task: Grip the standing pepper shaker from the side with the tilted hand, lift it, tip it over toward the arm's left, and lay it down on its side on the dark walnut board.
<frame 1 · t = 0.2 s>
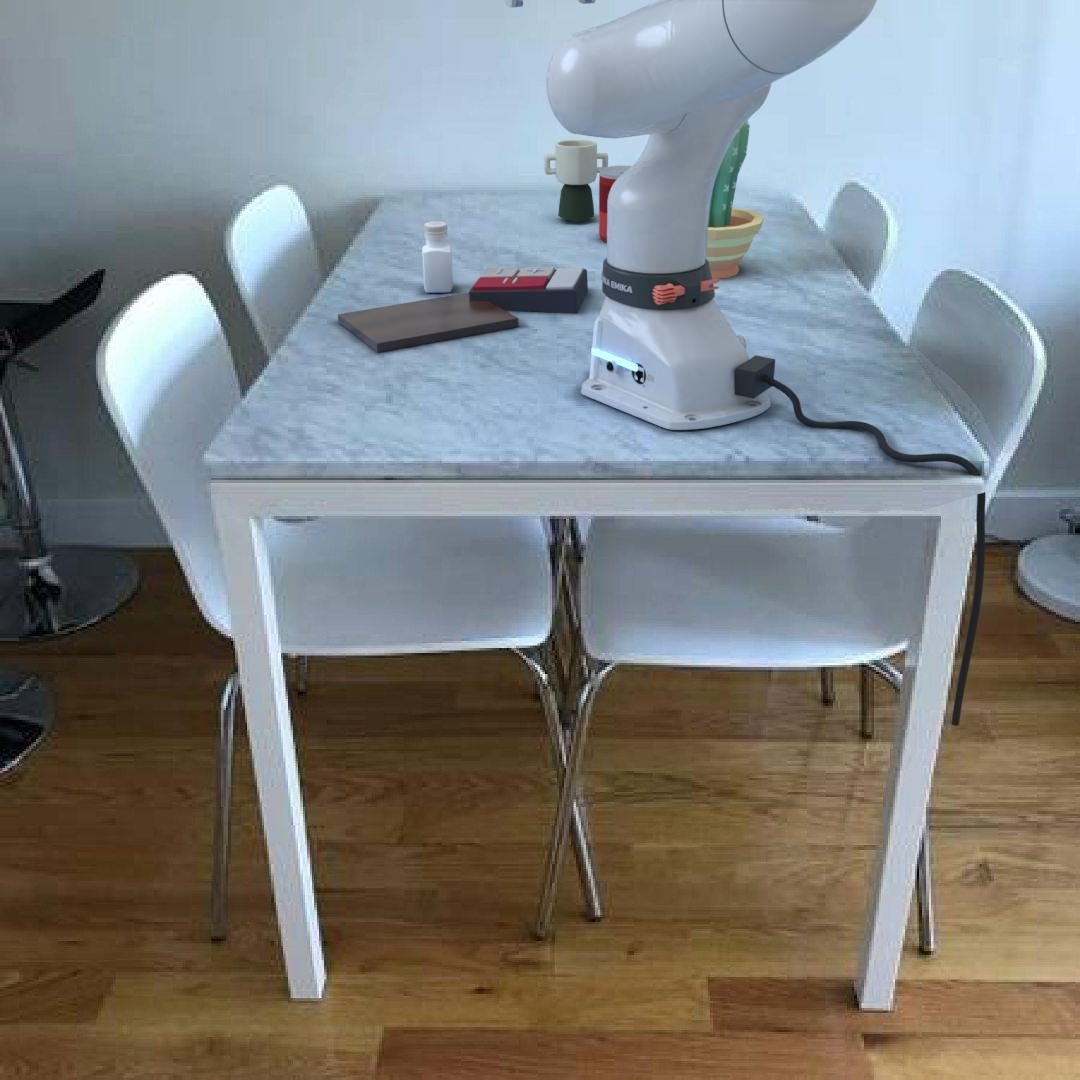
hand: (550, 4, 144), 39 cm above the table, tool pointing down, fingers open, 8 cm apart
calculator: (529, 304, 173), on the table
trophy: (576, 221, 214), on the table
potted cactus: (708, 271, 185), on the table
pepper shaker: (439, 291, 178), on the table
board: (427, 324, 164), on the table
canned food: (622, 239, 202), on the table
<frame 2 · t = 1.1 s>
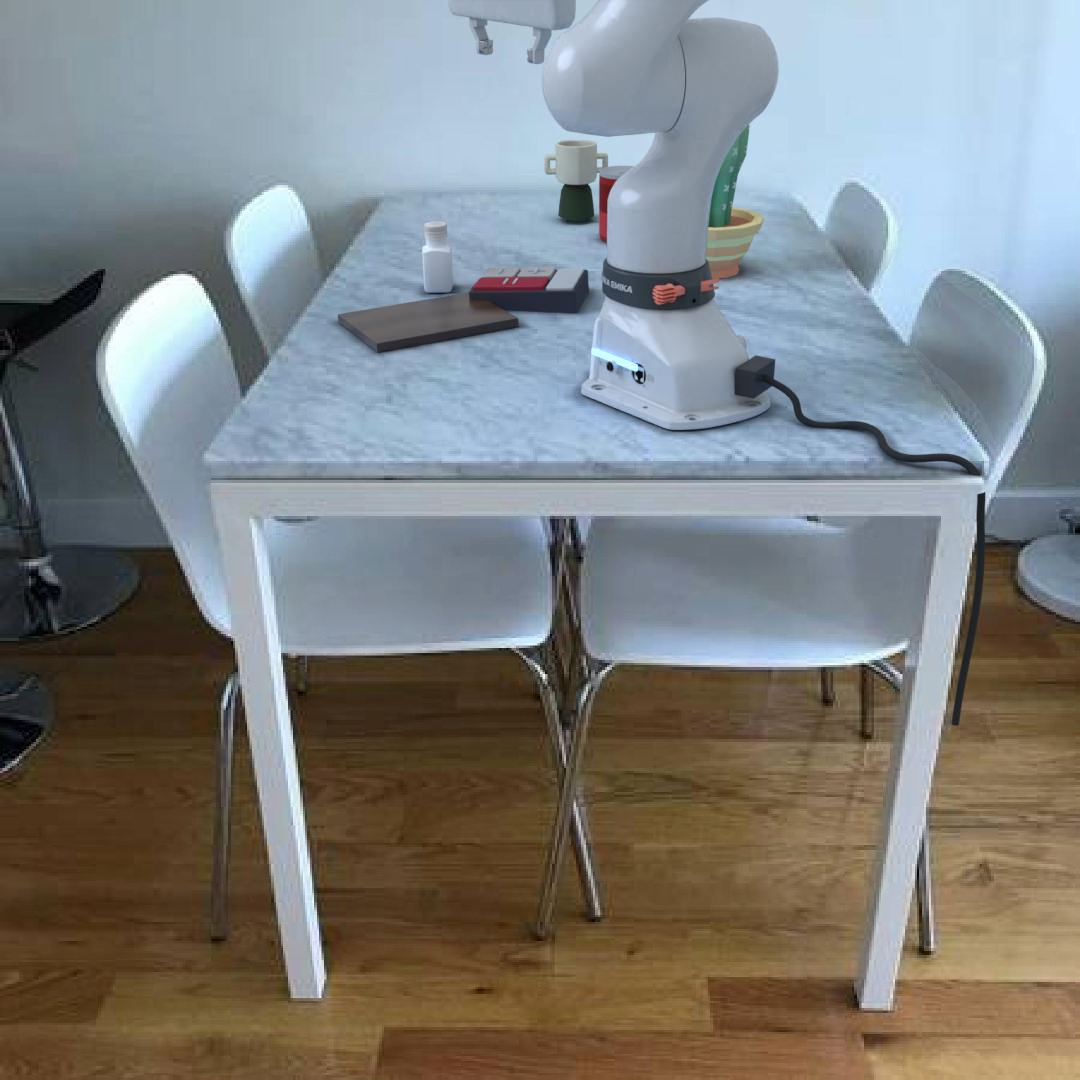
hand: (509, 58, 165), 31 cm above the table, tool pointing down, fingers open, 8 cm apart
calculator: (530, 305, 174), on the table, touching board
everything else where it was.
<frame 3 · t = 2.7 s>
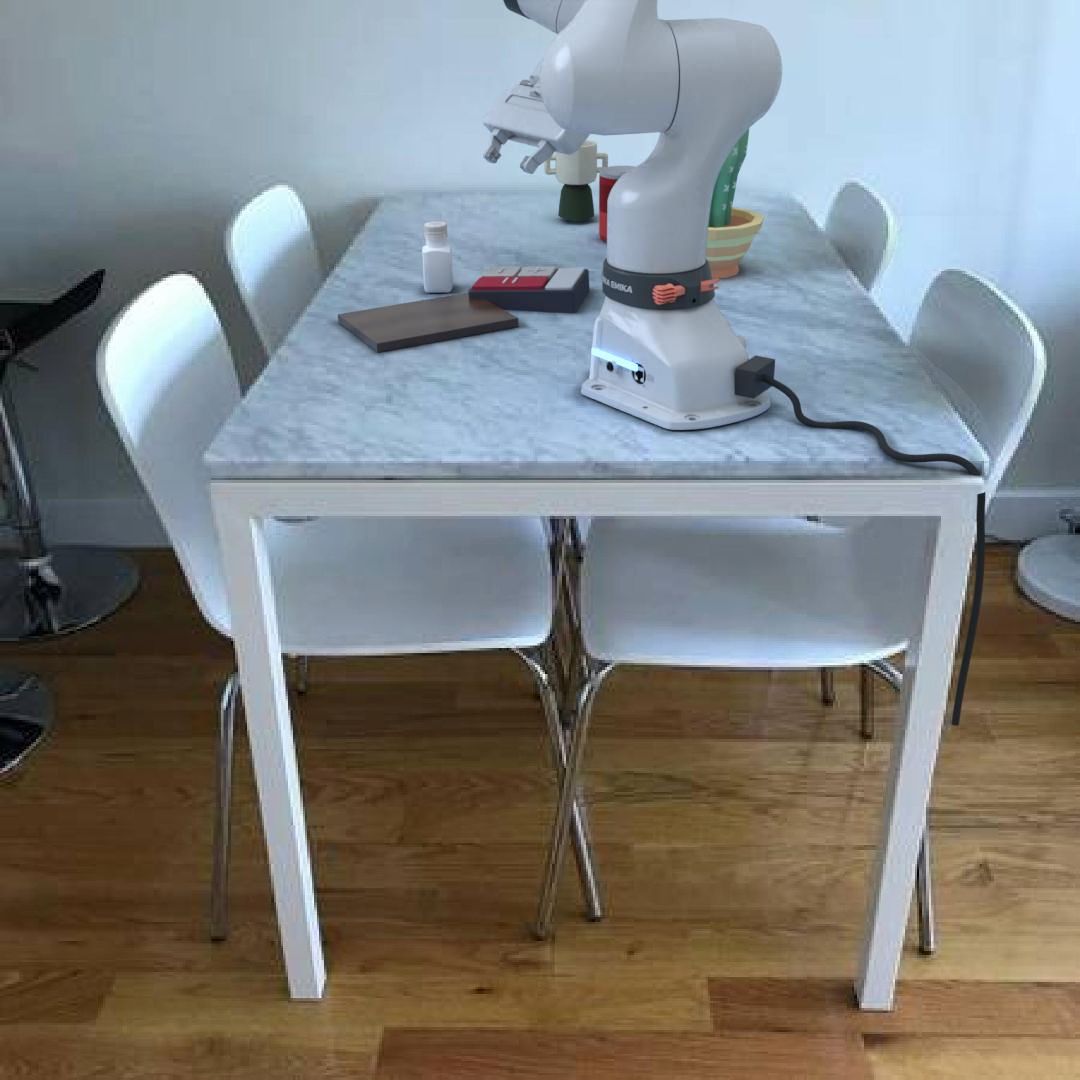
hand: (506, 165, 177), 16 cm above the table, tool tilted 45°, fingers open, 8 cm apart
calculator: (530, 304, 174), on the table
everything else where it was.
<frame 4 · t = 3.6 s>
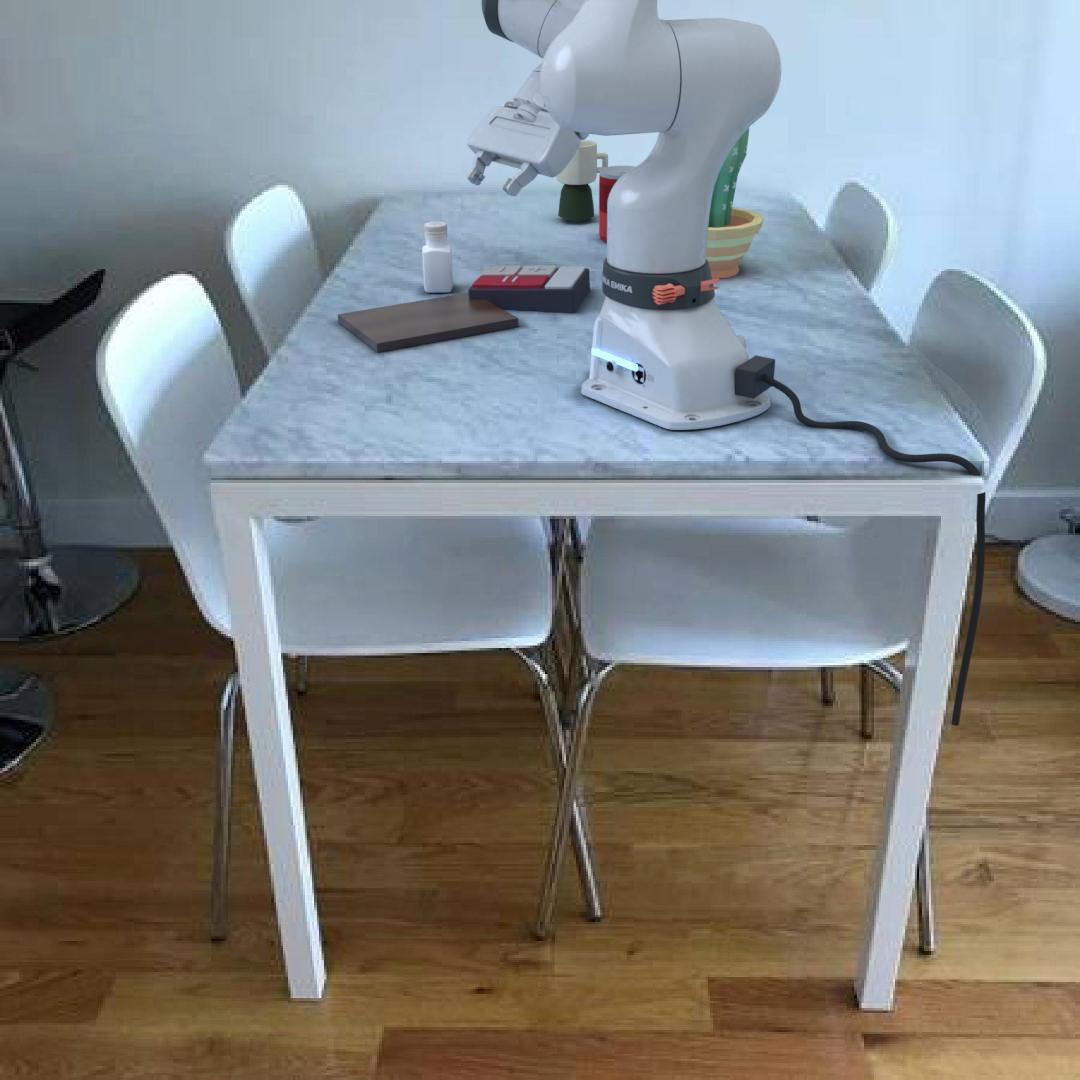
hand: (489, 187, 176), 13 cm above the table, tool tilted 45°, fingers open, 8 cm apart
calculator: (530, 303, 174), on the table, touching board
everything else where it was.
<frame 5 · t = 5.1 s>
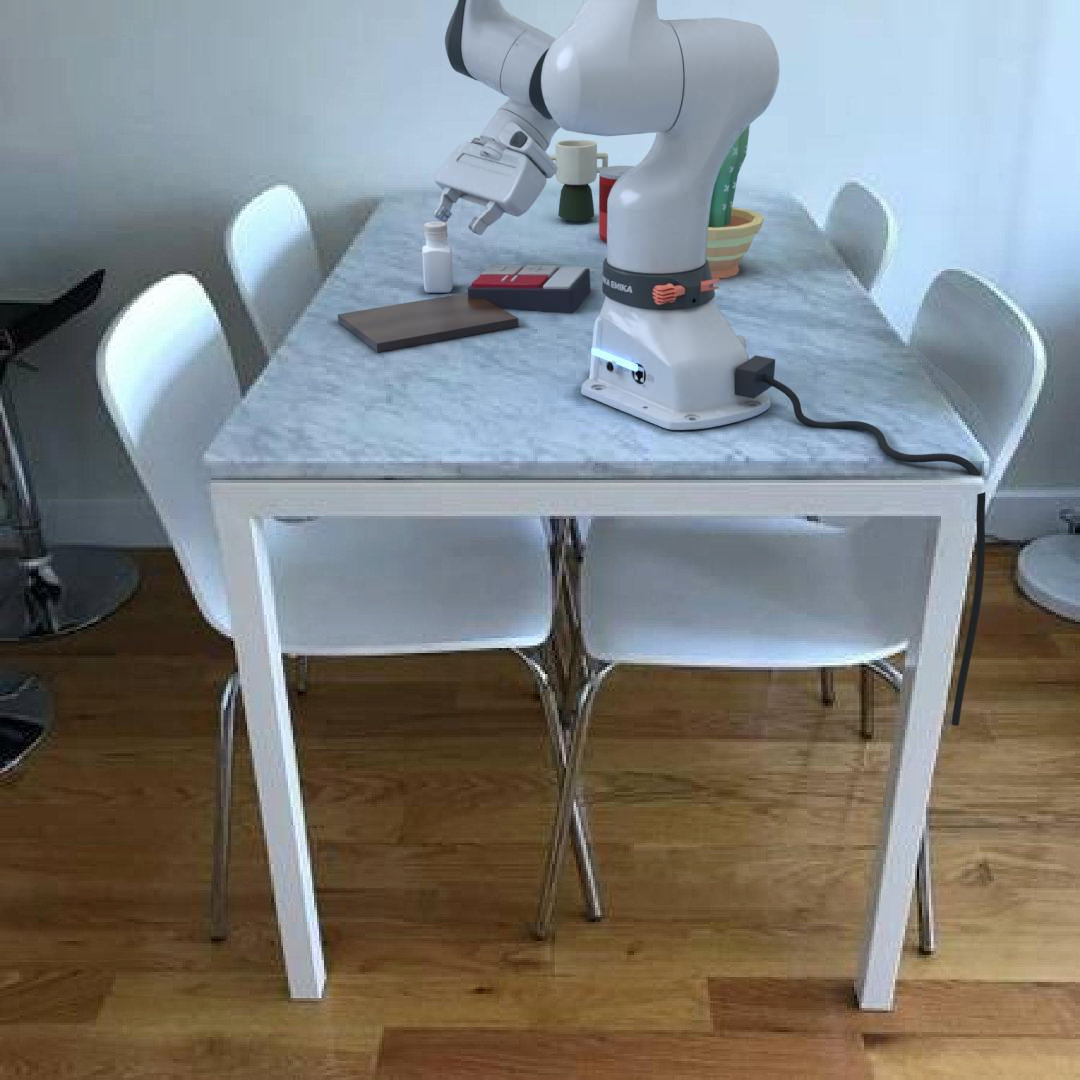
hand: (456, 225, 176), 9 cm above the table, tool tilted 45°, fingers open, 8 cm apart
nothing on the table moved.
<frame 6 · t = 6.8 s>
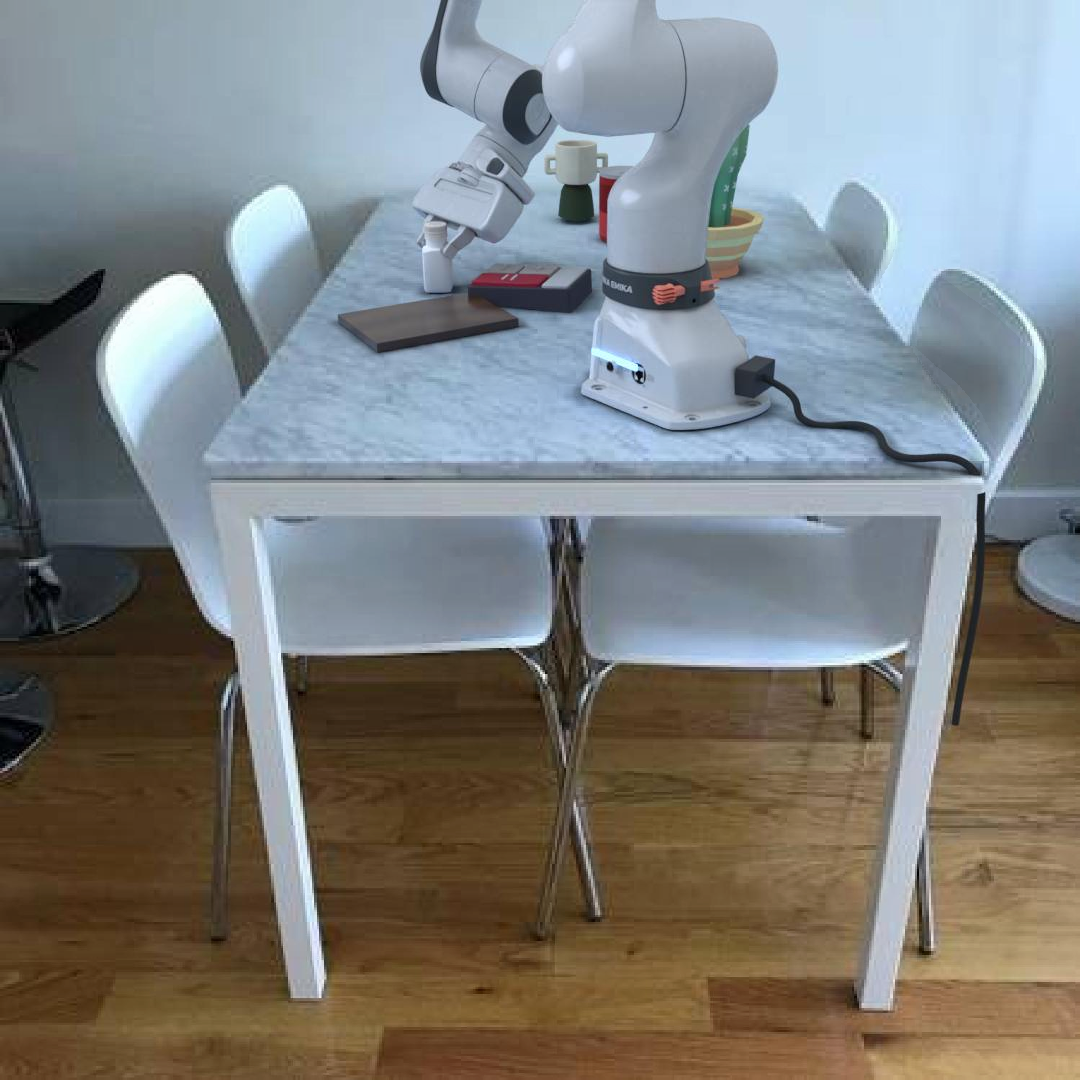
hand: (433, 251, 175), 6 cm above the table, tool tilted 45°, fingers closed on pepper shaker, 5 cm apart
pepper shaker: (439, 291, 178), on the table, touching gripper
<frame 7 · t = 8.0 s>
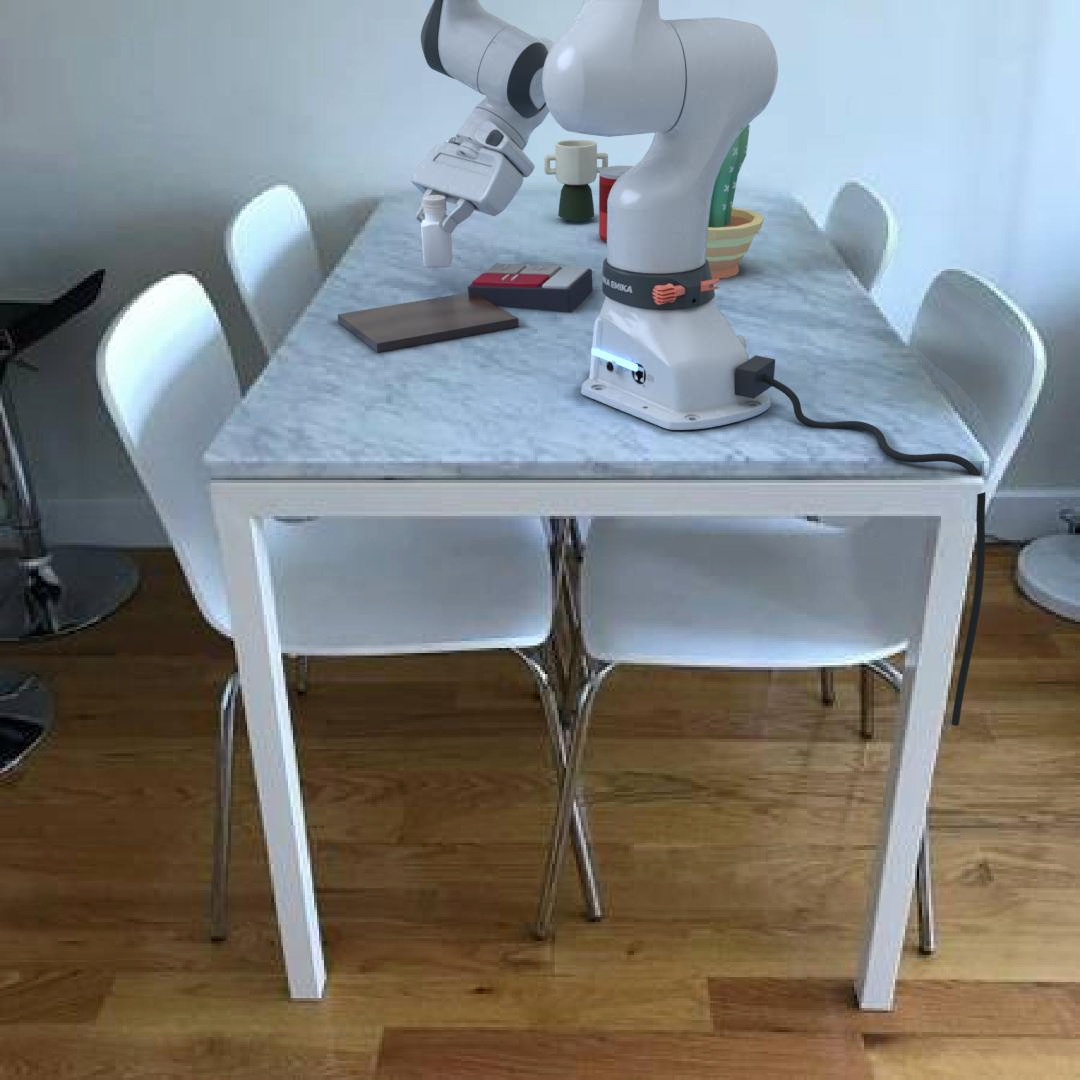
hand: (432, 225, 173), 9 cm above the table, tool tilted 45°, fingers closed on pepper shaker, 5 cm apart
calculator: (531, 301, 175), on the table
pepper shaker: (438, 266, 176), point 4 cm above the table, touching gripper
everything else where it was.
when the fingers open (6 cm above the table, at t = 15.6 s): pepper shaker moves 2 cm, resting on board.
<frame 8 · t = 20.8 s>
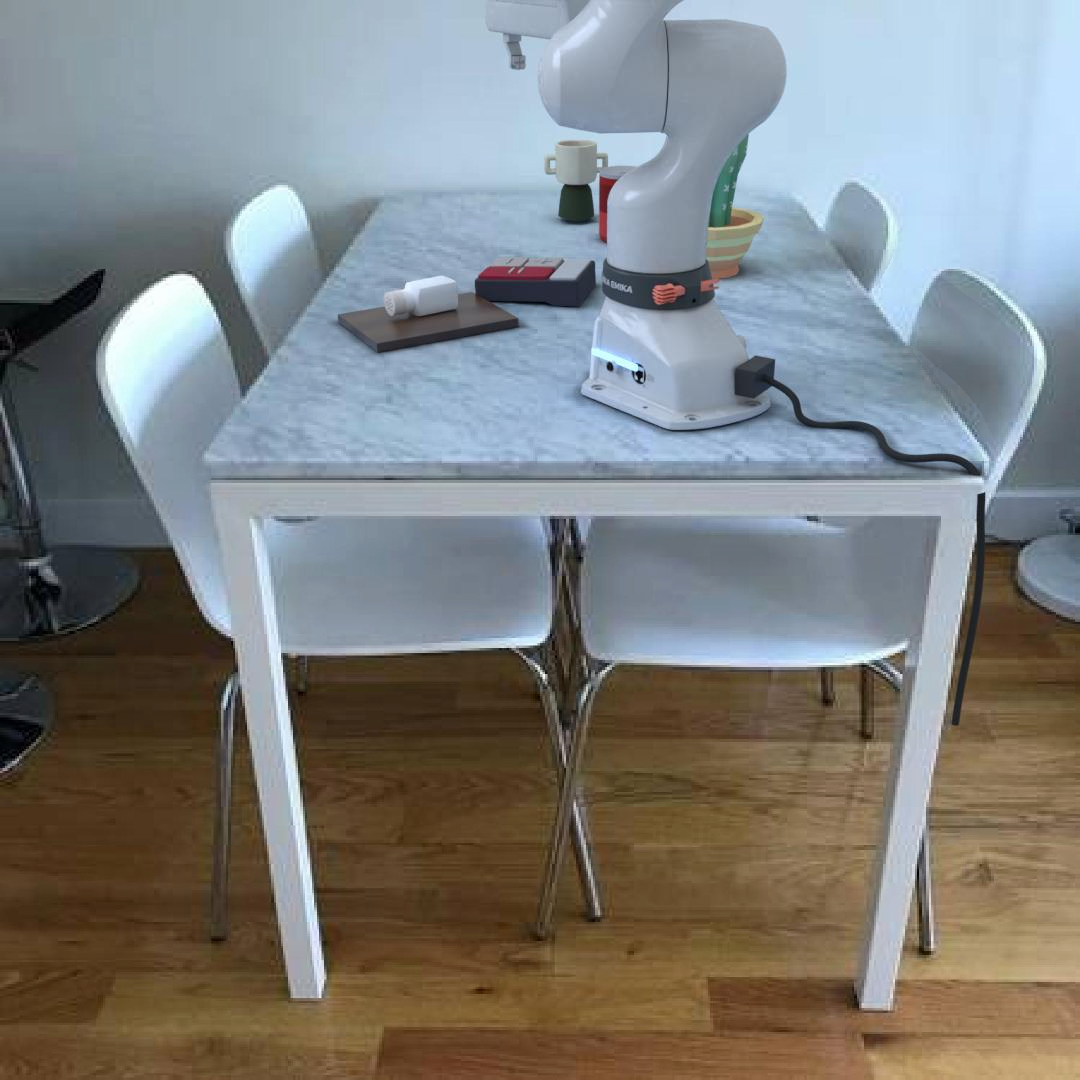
hand: (537, 72, 166), 29 cm above the table, tool pointing down, fingers open, 8 cm apart
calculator: (536, 294, 176), on the table
pepper shaker: (453, 291, 166), point 3 cm above the table, touching board
everything else where it was.
at the end: pepper shaker tilted 90°; pepper shaker inside the target area on the board (5.5 cm from its centre), point 3.2 cm above the board's base; the gripper is holding nothing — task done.
